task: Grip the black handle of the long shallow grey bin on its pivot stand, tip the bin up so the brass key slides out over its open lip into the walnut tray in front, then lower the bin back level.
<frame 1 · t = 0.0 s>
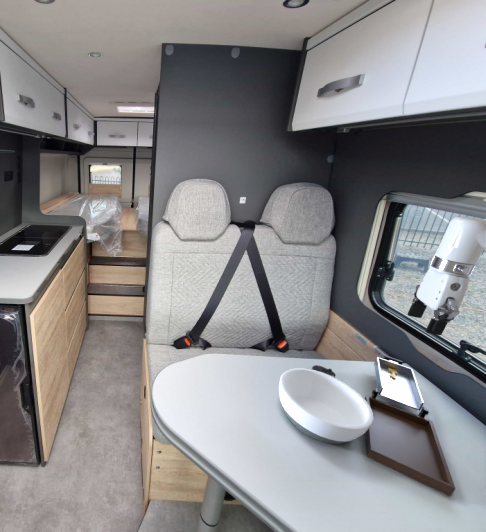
hand: (422, 324, 84), 29 cm above the table, tool pointing down, fingers open, 9 cm apart
shallow grey bin: (395, 378, 100), point 5 cm above the table, hinge at 0.0°, touching key
bowl: (315, 418, 88), on the table
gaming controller: (322, 380, 104), on the table
key: (392, 374, 104), point 4 cm above the table, touching shallow grey bin
stand: (393, 412, 93), on the table
tray: (399, 441, 83), on the table
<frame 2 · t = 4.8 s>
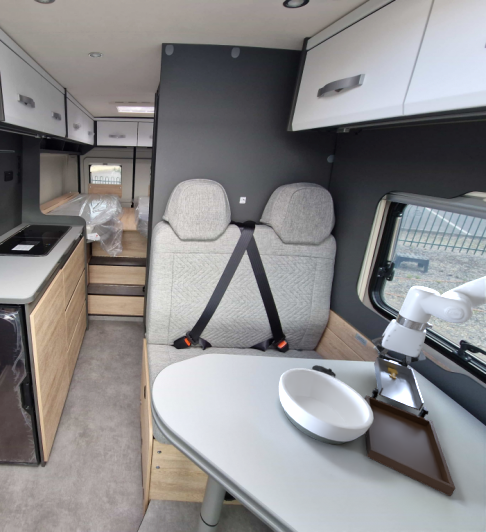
hand: (390, 366, 109), 3 cm above the table, tool pointing down, fingers closed on shallow grey bin, 5 cm apart
shallow grey bin: (395, 378, 100), point 5 cm above the table, hinge at 0.0°, touching gripper, key
everything else where it was.
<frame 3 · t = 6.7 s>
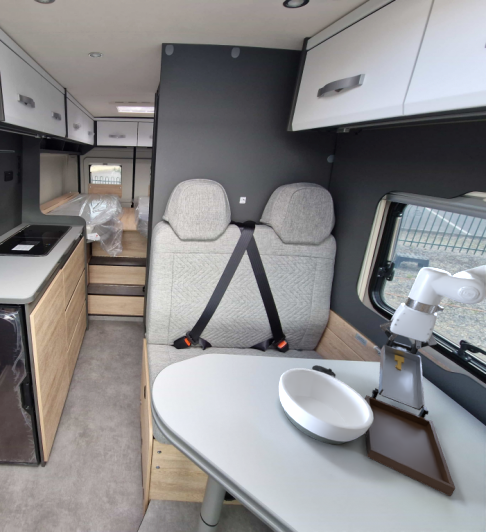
hand: (398, 352, 105), 11 cm above the table, tool pointing down, fingers closed on shallow grey bin, 5 cm apart
shallow grey bin: (400, 370, 98), point 9 cm above the table, hinge at 18.6°, touching gripper, key
key: (399, 363, 101), point 9 cm above the table, tilted 19°, touching shallow grey bin
everything else where it was.
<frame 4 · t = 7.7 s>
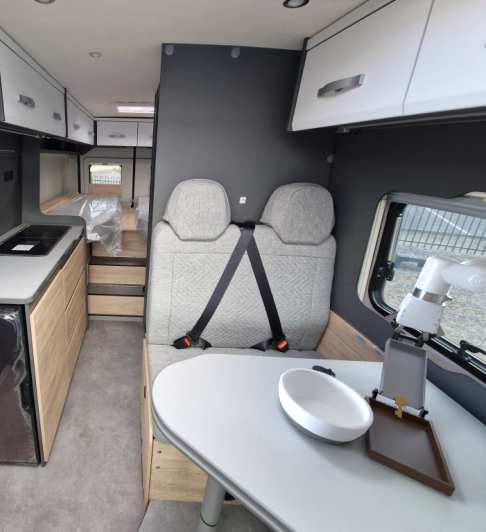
hand: (405, 344, 102), 15 cm above the table, tool pointing down, fingers closed on shallow grey bin, 5 cm apart
shallow grey bin: (404, 367, 96), point 11 cm above the table, hinge at 32.1°, touching gripper
key: (399, 407, 90), point 3 cm above the table, tilted 39°
everything else where it was.
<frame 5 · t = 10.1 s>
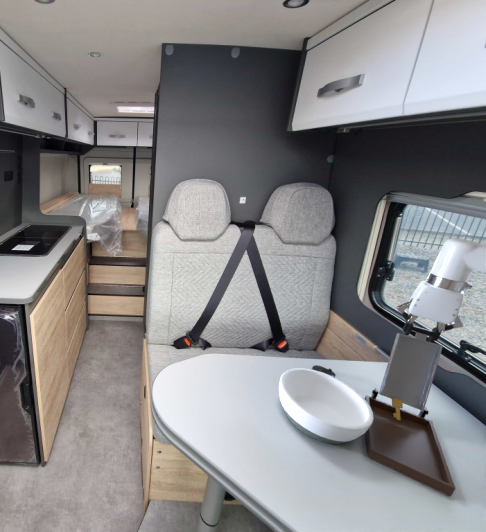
hand: (418, 337, 93), 22 cm above the table, tool pointing down, fingers closed on shallow grey bin, 5 cm apart
shallow grey bin: (411, 365, 91), point 15 cm above the table, hinge at 62.5°, touching gripper, key
key: (397, 409, 90), point 3 cm above the table, tilted 40°, touching shallow grey bin, tray
everything else where it was.
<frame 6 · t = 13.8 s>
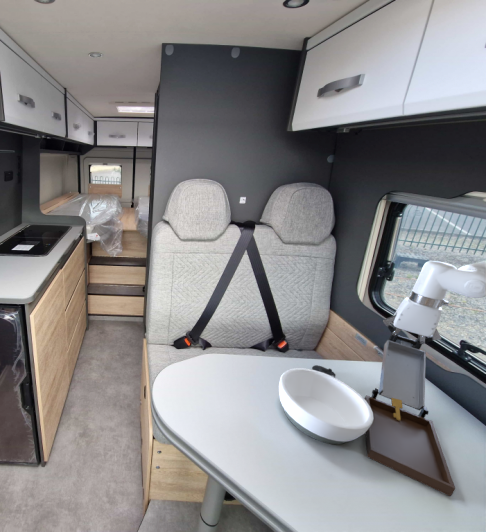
hand: (402, 347, 103), 13 cm above the table, tool pointing down, fingers closed on shallow grey bin, 5 cm apart
shallow grey bin: (403, 368, 97), point 10 cm above the table, hinge at 28.0°, touching gripper, key
everything else where it was.
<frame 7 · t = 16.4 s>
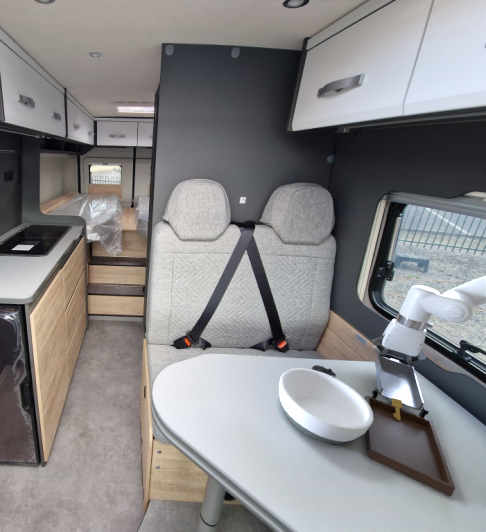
hand: (390, 365, 109), 4 cm above the table, tool pointing down, fingers closed on shallow grey bin, 5 cm apart
shallow grey bin: (396, 377, 100), point 6 cm above the table, hinge at 2.5°, touching gripper, key
everything else where it was.
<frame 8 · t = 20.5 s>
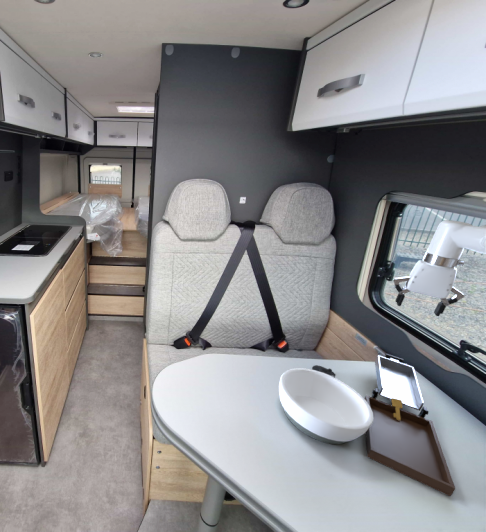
hand: (416, 309, 101), 26 cm above the table, tool pointing down, fingers open, 9 cm apart
shallow grey bin: (396, 377, 100), point 6 cm above the table, hinge at 2.3°, touching key
everything else where it was.
at the end: key inside the target area in the tray (10.8 cm from its centre), point 2.5 cm above the tray's base; shallow grey bin reached +63° during the clip, +2° at the end; shallow grey bin at +2° (first picture: +0°) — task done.
